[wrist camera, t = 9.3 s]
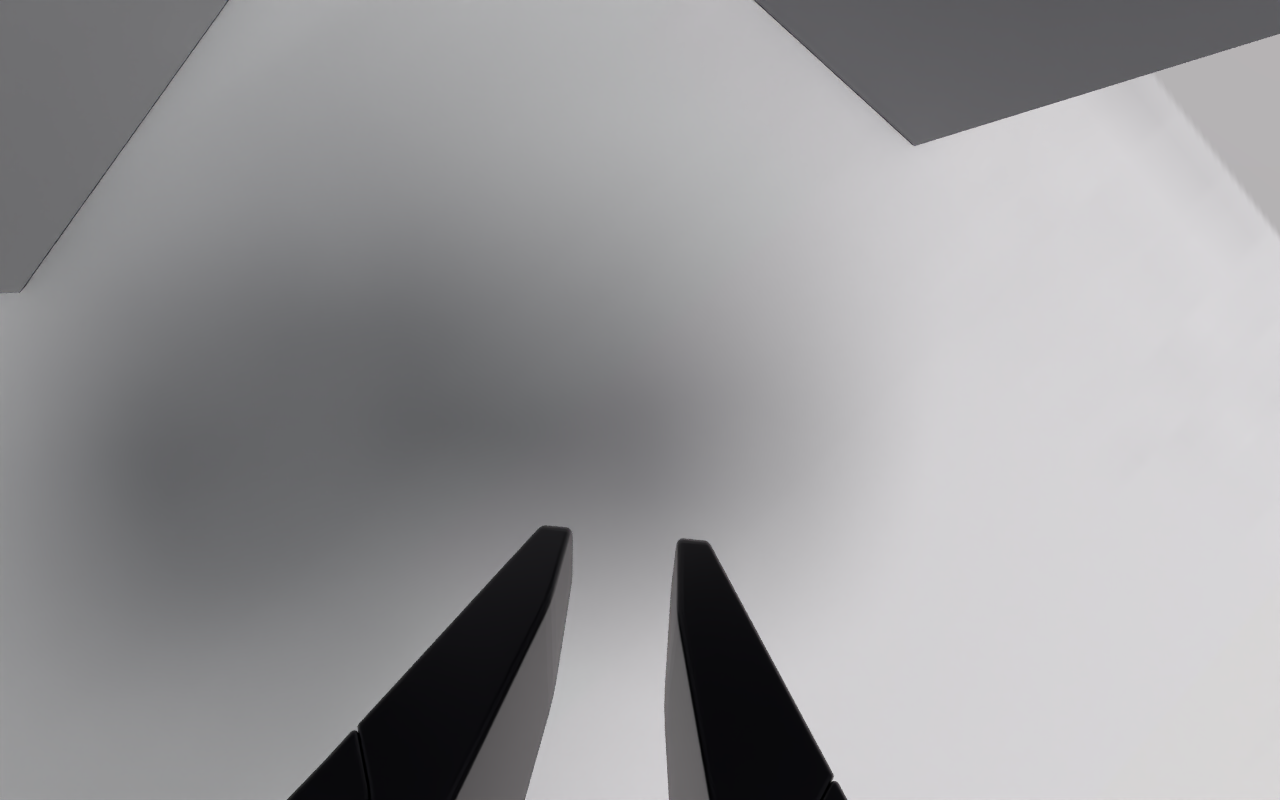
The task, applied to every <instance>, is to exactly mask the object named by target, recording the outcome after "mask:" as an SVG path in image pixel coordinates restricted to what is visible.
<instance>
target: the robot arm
mask: <svg viewBox="0 0 1280 800" xmlns="http://www.w3.org/2000/svg"><path fill="white" fill-rule="evenodd" d="M572 552H573V538H572V531H571V530H570V529H569V528H567V527H557V526H546V525H545V526H542V527H540V528H539V529H538V530H537V531H536V532H535V533H534V534H533V535H532V536H531V537H530V538H529V539H528V540H527V542H526V543H525V544H524V545H523V546H522V547H521V548H520V549H519V550H518V551H517V552H516V554H515V555H514V556H513V557H512V558H511V559H510V560H509V561H508V562H507V563H506V564H505V565H504V567H503V568H502V569H501V570H500V571H499V572H498V573H497V574H496V575H495V576H494V577H493V579H492V580H491V581H490V582H489V583H488V584H487V585H486V586H485V587H484V588H483V589H482V590H481V592H480V593H479V594H478V595H477V596H476V597H475V598H474V599H473V600H472V601H471V602H470V604H469V605H468V606H467V607H466V608H465V609H464V610H463V611H462V612H461V613H460V614H459V616H458V617H457V618H456V619H455V620H454V621H453V622H452V623H451V624H450V625H449V626H448V627H447V629H446V630H445V631H444V632H443V633H442V634H441V635H440V636H439V637H438V638H437V639H436V641H435V642H434V643H433V644H432V645H431V646H430V647H429V648H428V649H427V650H426V651H425V652H424V654H423V655H422V656H421V657H420V658H419V659H418V660H417V661H416V662H415V663H414V664H413V666H412V667H411V668H410V669H409V670H408V671H407V672H406V673H405V674H404V675H403V676H402V678H401V679H400V680H399V681H398V682H397V683H396V684H395V685H394V686H393V687H392V688H391V689H390V691H389V692H388V693H387V694H386V695H385V696H384V697H383V698H382V699H381V700H380V701H379V703H378V704H377V705H376V706H375V707H374V708H373V709H372V710H371V711H370V712H369V713H368V714H367V716H366V717H365V718H364V719H363V720H362V721H361V722H360V723H359V725H358V731H355V730H354V731H352V732H350V734H349V735H348V736H347V737H346V738H345V739H344V740H343V741H342V742H341V743H340V745H339V746H338V747H337V748H336V749H335V750H334V751H333V752H332V753H331V754H330V755H329V757H328V758H327V759H326V760H325V761H324V762H323V763H322V764H321V765H320V766H319V767H318V768H317V769H316V770H315V771H314V772H313V773H312V774H311V775H310V776H309V777H308V779H307V780H306V781H305V782H304V783H303V784H302V785H301V786H300V787H299V788H298V789H297V790H296V791H295V792H294V793H293V794H292V795H291V796H290V797H289V798H288V799H287V800H525V797H526V793H527V790H528V786H529V783H530V779H531V775H532V772H533V768H534V765H535V761H536V758H537V754H538V750H539V747H540V743H541V740H542V736H543V733H544V729H545V725H546V722H547V718H548V715H549V711H550V707H551V703H552V699H553V695H554V689H555V684H556V679H557V673H558V667H559V660H560V654H561V648H562V641H563V635H564V628H565V622H566V616H567V609H568V603H569V597H570V590H571V583H572ZM664 713H665V737H666V755H667V772H668V790H669V800H847V798H846V796H845V795H844V793H843V791H842V789H841V787H840V785H839V784H838V782H836V781H832V780H833V777H834V776H833V773H832V771H831V769H830V767H829V765H828V763H827V762H826V760H825V758H824V756H823V754H822V752H821V750H820V749H819V747H818V745H817V743H816V741H815V739H814V737H813V735H812V734H811V732H810V730H809V728H808V726H807V724H806V722H805V721H804V719H803V717H802V715H801V713H800V711H799V709H798V707H797V706H796V704H795V702H794V700H793V698H792V696H791V694H790V692H789V691H788V689H787V687H786V685H785V683H784V681H783V679H782V678H781V676H780V674H779V672H778V670H777V668H776V666H775V664H774V663H773V661H772V659H771V657H770V655H769V653H768V651H767V650H766V648H765V646H764V644H763V642H762V640H761V638H760V636H759V635H758V633H757V631H756V629H755V627H754V625H753V623H752V621H751V620H750V618H749V616H748V614H747V612H746V610H745V608H744V607H743V605H742V603H741V601H740V599H739V597H738V595H737V593H736V592H735V590H734V588H733V586H732V584H731V582H730V580H729V579H728V577H727V575H726V573H725V571H724V569H723V567H722V565H721V564H720V562H719V560H718V558H717V556H716V554H715V552H714V550H713V549H712V547H711V545H710V544H709V543H708V542H707V541H704V540H693V539H680V540H679V541H678V542H677V545H676V552H675V560H674V568H673V576H672V585H671V598H670V614H669V630H668V646H667V662H666V678H665V701H664Z"/></svg>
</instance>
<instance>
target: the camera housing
mask: <svg viewBox="0 0 1280 800" xmlns="http://www.w3.org/2000/svg"><path fill="white" fill-rule="evenodd" d="M227 1H228V0H0V293H12V292H20V291H21V290H22V288H23V287H24V285H25V284H26V283H27V281H28V280H29V278H30V277H31V276H32V274H33V273H34V271H35V270H36V269H37V267H38V266H39V264H40V263H41V262H42V260H43V259H44V257H45V256H46V255H47V253H48V252H49V250H50V249H51V248H52V246H53V245H54V243H55V242H56V241H57V239H58V238H59V236H60V235H61V234H62V232H63V231H64V229H65V228H66V227H67V225H68V224H69V222H70V221H71V220H72V218H73V217H74V215H75V214H76V213H77V211H78V210H79V208H80V207H81V206H82V204H83V203H84V201H85V200H86V199H87V197H88V196H89V194H90V193H91V192H92V190H93V189H94V187H95V186H96V184H97V183H98V182H99V180H100V179H101V177H102V176H103V175H104V173H105V172H106V170H107V169H108V168H109V166H110V165H111V163H112V162H113V161H114V159H115V158H116V156H117V155H118V154H119V152H120V151H121V149H122V148H123V147H124V145H125V144H126V142H127V141H128V140H129V138H130V137H131V135H132V134H133V133H134V131H135V130H136V128H137V127H138V126H139V124H140V123H141V121H142V120H143V119H144V117H145V116H146V114H147V113H148V112H149V110H150V109H151V107H152V106H153V105H154V103H155V102H156V100H157V99H158V98H159V96H160V95H161V93H162V92H163V91H164V89H165V88H166V86H167V85H168V84H169V82H170V81H171V79H172V78H173V77H174V75H175V74H176V72H177V71H178V70H179V68H180V67H181V65H182V64H183V63H184V61H185V60H186V58H187V57H188V56H189V54H190V53H191V51H192V50H193V49H194V47H195V46H196V44H197V43H198V41H199V40H200V39H201V37H202V36H203V34H204V33H205V32H206V30H207V29H208V27H209V26H210V25H211V23H212V22H213V20H214V19H215V18H216V16H217V15H218V13H219V12H220V11H221V9H222V8H223V6H224V5H225V4H226V2H227Z"/></svg>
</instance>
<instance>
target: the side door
mask: <svg viewBox="0 0 1280 800" xmlns="http://www.w3.org/2000/svg"><path fill="white" fill-rule="evenodd" d="M755 1H756V2H757V3H758V4H760V5H761V6H762V7H763V8H764V9H765V10H766V11H767V12H768V13H769V14H771V15H772V16H773V17H774V18H775V19H776V20H777V21H778V22H779V23H780V24H782V25H783V26H784V27H785V28H786V29H787V30H788V31H789V32H790V33H791V34H792V35H794V36H795V37H796V38H797V39H798V40H799V41H800V42H801V43H802V44H803V45H805V46H806V47H807V48H808V49H809V50H810V51H811V52H812V53H813V54H814V55H815V56H817V57H818V58H819V59H820V60H821V61H822V62H823V63H824V64H825V65H826V66H828V67H829V68H830V69H831V70H832V71H833V72H834V73H835V74H836V75H837V76H838V77H840V78H841V79H842V80H843V81H844V82H845V83H846V84H847V85H848V86H849V87H851V88H852V89H853V90H854V91H855V92H856V93H857V94H858V95H859V96H860V97H862V98H863V99H864V100H865V101H866V102H867V103H868V104H869V105H870V106H871V107H872V108H874V109H875V110H876V111H877V112H878V113H879V114H880V115H881V116H882V117H883V118H885V119H886V120H887V121H888V122H889V123H890V124H891V125H892V126H893V127H894V128H895V129H897V130H898V131H899V132H900V133H901V134H902V135H903V136H904V137H905V138H906V139H908V140H909V141H910V142H911V143H912V144H913V145H914V146H916V145H919V144H923V143H926V142H929V141H932V140H936V139H939V138H942V137H945V136H949V135H952V134H955V133H958V132H962V131H965V130H968V129H971V128H975V127H978V126H981V125H984V124H988V123H991V122H994V121H997V120H1001V119H1004V118H1007V117H1010V116H1014V115H1017V114H1020V113H1023V112H1027V111H1030V110H1033V109H1036V108H1040V107H1043V106H1046V105H1049V104H1053V103H1056V102H1059V101H1062V100H1066V99H1069V98H1072V97H1075V96H1079V95H1082V94H1085V93H1088V92H1092V91H1095V90H1098V89H1101V88H1105V87H1108V86H1111V85H1114V84H1118V83H1121V82H1124V81H1127V80H1131V79H1134V78H1137V77H1140V76H1144V75H1147V74H1150V73H1153V72H1156V71H1160V70H1163V69H1166V68H1169V67H1173V66H1176V65H1179V64H1183V63H1186V62H1189V61H1192V60H1196V59H1199V58H1202V57H1205V56H1208V55H1212V54H1215V53H1218V52H1222V51H1225V50H1228V49H1231V48H1235V47H1238V46H1241V45H1244V44H1248V43H1251V42H1254V41H1257V40H1261V39H1264V38H1267V37H1270V36H1273V35H1277V34H1280V0H755Z"/></svg>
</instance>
